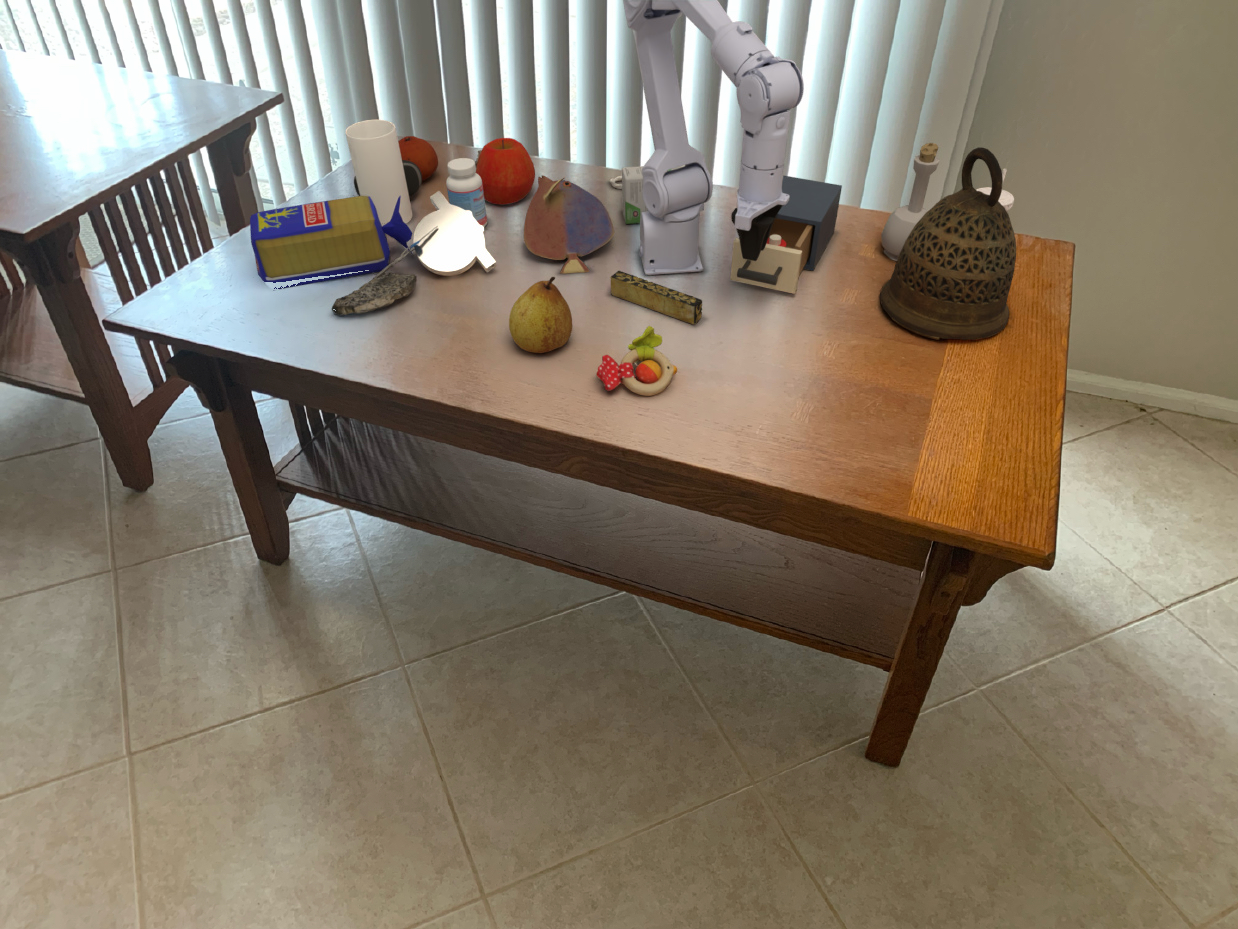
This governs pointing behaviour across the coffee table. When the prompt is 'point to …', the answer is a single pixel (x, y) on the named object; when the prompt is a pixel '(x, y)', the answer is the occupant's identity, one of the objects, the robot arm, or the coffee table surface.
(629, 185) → the ink box
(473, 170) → the pill bottle
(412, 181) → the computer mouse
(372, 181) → the cup
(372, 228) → the bread
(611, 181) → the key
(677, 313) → the decorative block
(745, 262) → the drawer
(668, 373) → the bird rattle
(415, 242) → the scissors
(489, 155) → the apple
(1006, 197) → the smoothie
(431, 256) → the tabbed white plastic disc
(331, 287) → the coffee table surface
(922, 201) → the potion bottle
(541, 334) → the fruit
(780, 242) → the red cylinder
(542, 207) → the fish
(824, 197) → the cabinet
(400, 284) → the stone
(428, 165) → the fruit
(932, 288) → the bell
